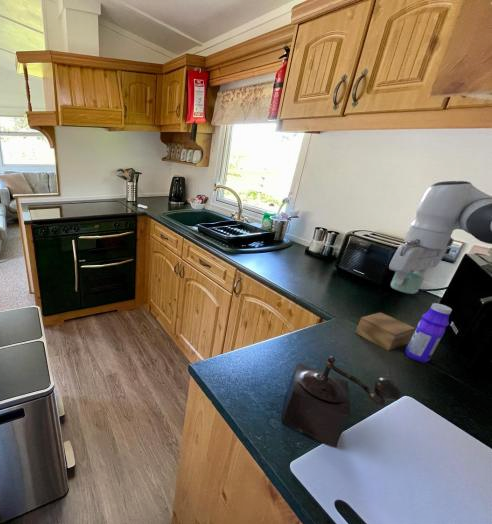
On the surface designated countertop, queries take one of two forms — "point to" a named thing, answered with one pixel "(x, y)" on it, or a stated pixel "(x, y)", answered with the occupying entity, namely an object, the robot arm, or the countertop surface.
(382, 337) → the block
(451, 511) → the countertop surface
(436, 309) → the bottle
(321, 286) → the countertop surface
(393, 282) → the bowl
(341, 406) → the manual coffee grinder
